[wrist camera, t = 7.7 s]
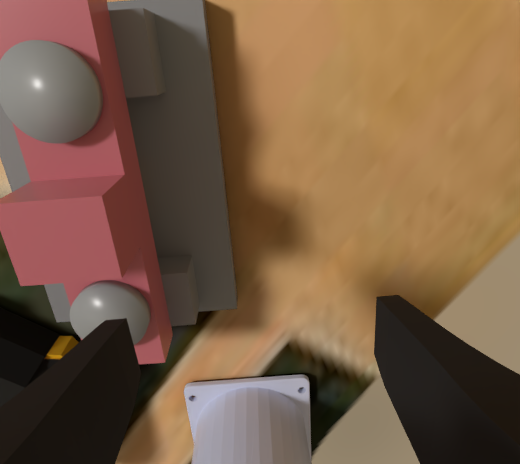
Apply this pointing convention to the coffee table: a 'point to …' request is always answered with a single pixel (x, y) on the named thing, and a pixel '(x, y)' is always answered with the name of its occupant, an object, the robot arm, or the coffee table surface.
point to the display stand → (167, 153)
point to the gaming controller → (26, 352)
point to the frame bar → (78, 171)
